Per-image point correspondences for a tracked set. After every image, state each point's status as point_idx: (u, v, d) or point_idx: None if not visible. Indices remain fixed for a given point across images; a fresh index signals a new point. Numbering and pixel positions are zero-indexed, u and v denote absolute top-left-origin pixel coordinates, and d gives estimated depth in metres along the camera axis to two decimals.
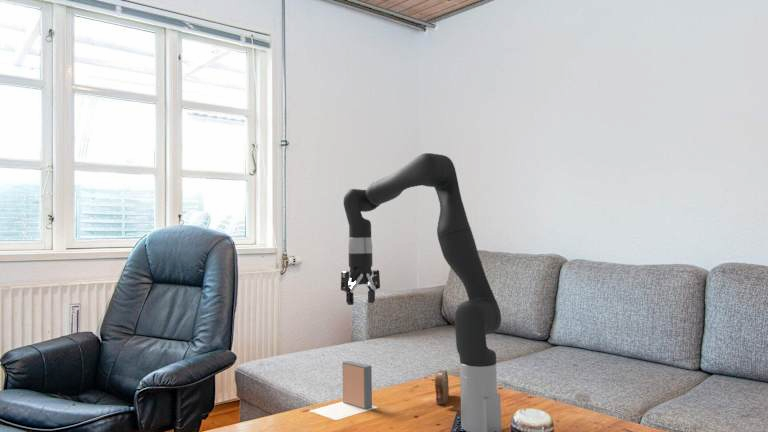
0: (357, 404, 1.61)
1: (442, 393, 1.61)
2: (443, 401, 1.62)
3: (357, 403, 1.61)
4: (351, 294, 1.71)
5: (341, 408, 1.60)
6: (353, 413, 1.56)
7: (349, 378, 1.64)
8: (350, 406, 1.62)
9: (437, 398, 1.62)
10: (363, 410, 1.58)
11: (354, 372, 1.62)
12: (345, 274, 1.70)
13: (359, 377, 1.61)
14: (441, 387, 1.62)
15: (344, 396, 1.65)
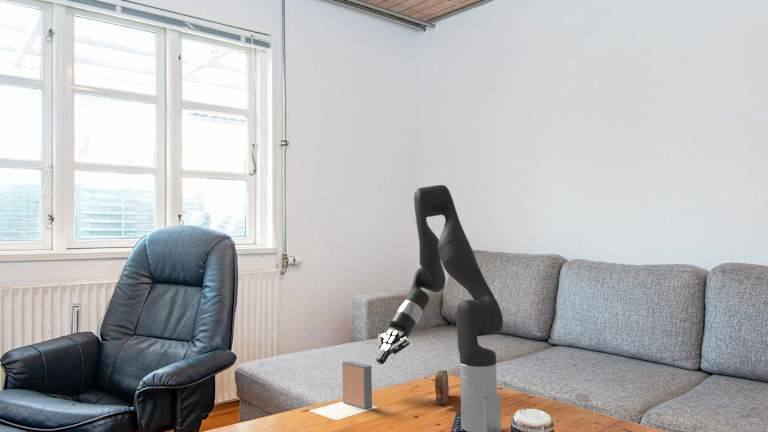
0: (357, 404, 1.61)
1: (442, 393, 1.61)
2: (443, 401, 1.62)
3: (357, 403, 1.61)
4: (381, 351, 1.72)
5: (341, 408, 1.60)
6: (353, 413, 1.56)
7: (349, 378, 1.64)
8: (350, 406, 1.62)
9: (437, 398, 1.62)
10: (363, 410, 1.58)
11: (354, 372, 1.62)
12: None
13: (359, 377, 1.61)
14: (441, 387, 1.62)
15: (344, 396, 1.65)
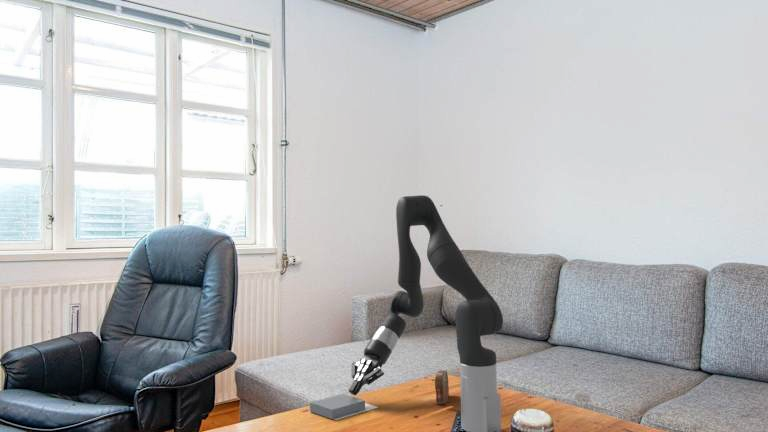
0: None
1: (442, 393, 1.61)
2: (443, 401, 1.62)
3: None
4: (354, 382, 1.64)
5: None
6: (353, 413, 1.56)
7: None
8: None
9: (437, 398, 1.62)
10: (363, 410, 1.58)
11: None
12: None
13: None
14: (441, 387, 1.62)
15: None
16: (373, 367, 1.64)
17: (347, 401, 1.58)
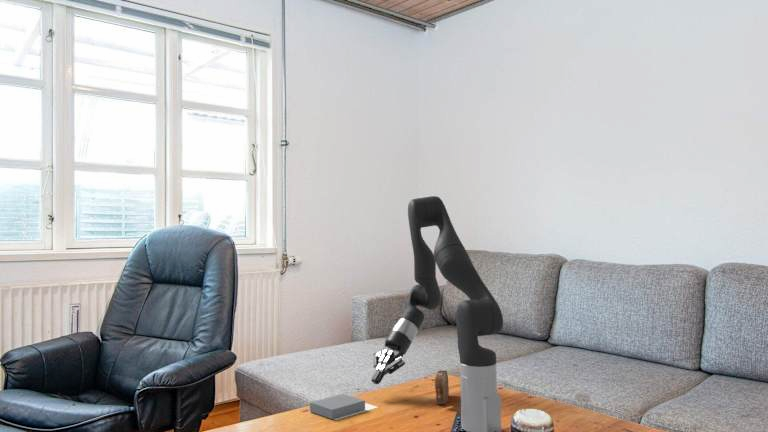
0: None
1: (442, 393, 1.61)
2: (443, 401, 1.62)
3: None
4: (376, 371, 1.70)
5: None
6: (353, 413, 1.56)
7: None
8: None
9: (437, 398, 1.62)
10: (363, 410, 1.58)
11: None
12: None
13: None
14: (441, 387, 1.62)
15: None
16: (394, 357, 1.71)
17: (347, 401, 1.58)
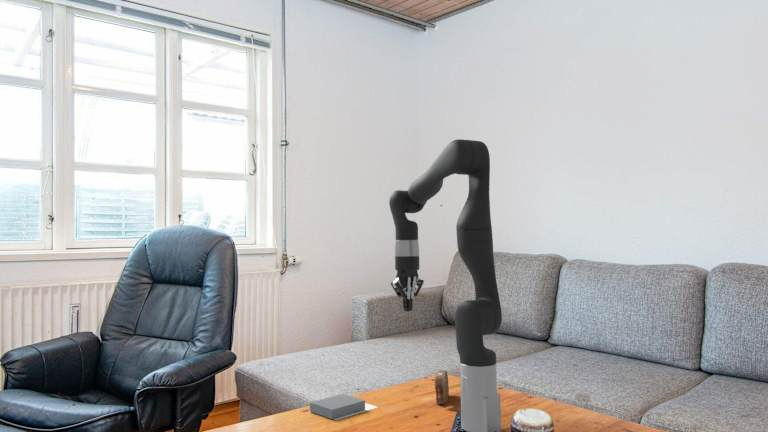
0: None
1: (442, 393, 1.61)
2: (443, 401, 1.62)
3: None
4: (408, 301, 1.70)
5: None
6: (353, 413, 1.56)
7: None
8: None
9: (437, 398, 1.62)
10: (363, 410, 1.58)
11: None
12: (396, 286, 1.67)
13: None
14: (441, 387, 1.62)
15: None
16: (416, 281, 1.73)
17: (347, 401, 1.58)
